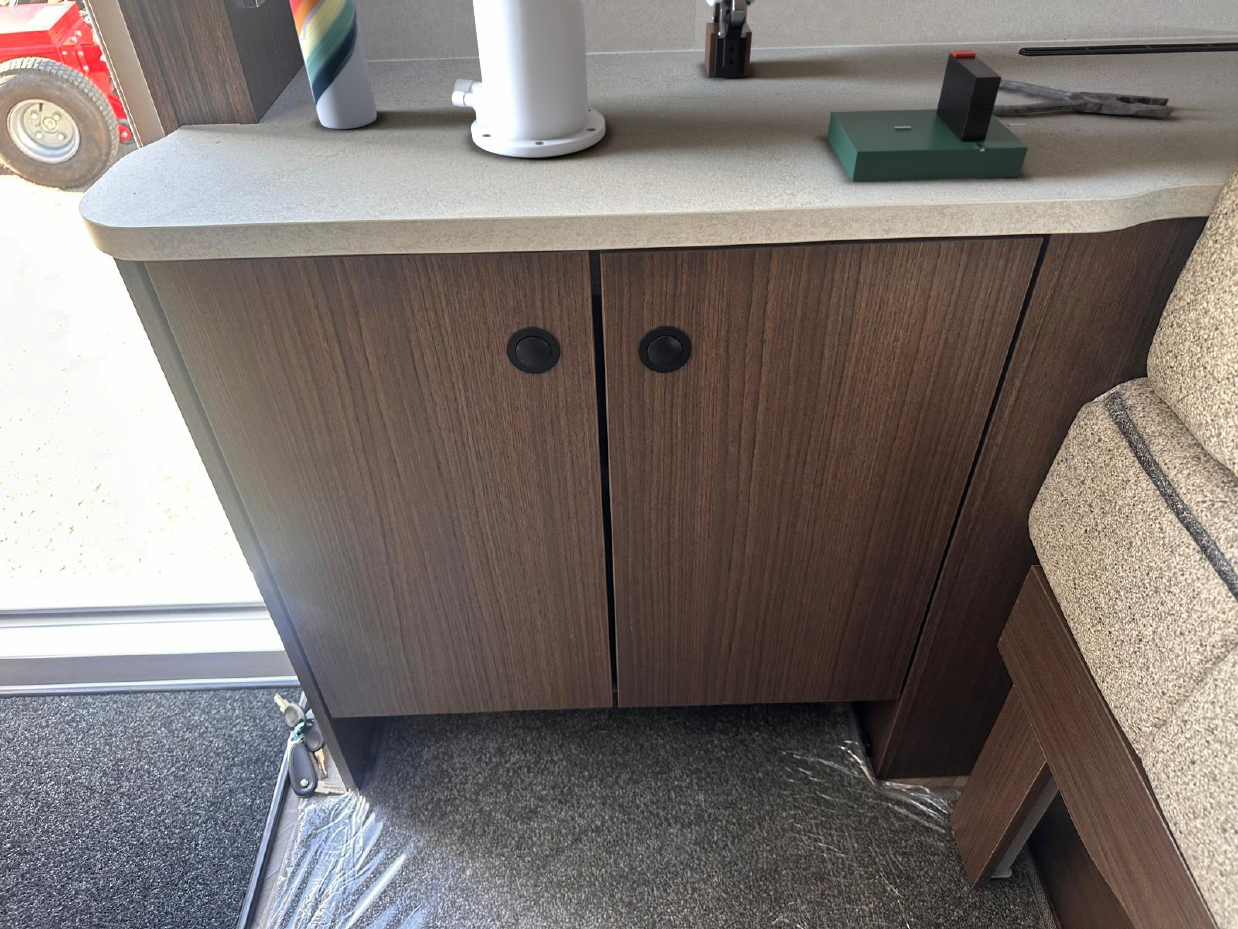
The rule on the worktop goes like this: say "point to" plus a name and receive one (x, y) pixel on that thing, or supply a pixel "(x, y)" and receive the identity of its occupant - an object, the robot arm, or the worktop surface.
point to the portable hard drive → (968, 96)
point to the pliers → (1085, 102)
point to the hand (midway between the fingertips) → (726, 67)
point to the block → (710, 48)
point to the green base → (920, 147)
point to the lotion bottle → (335, 62)
